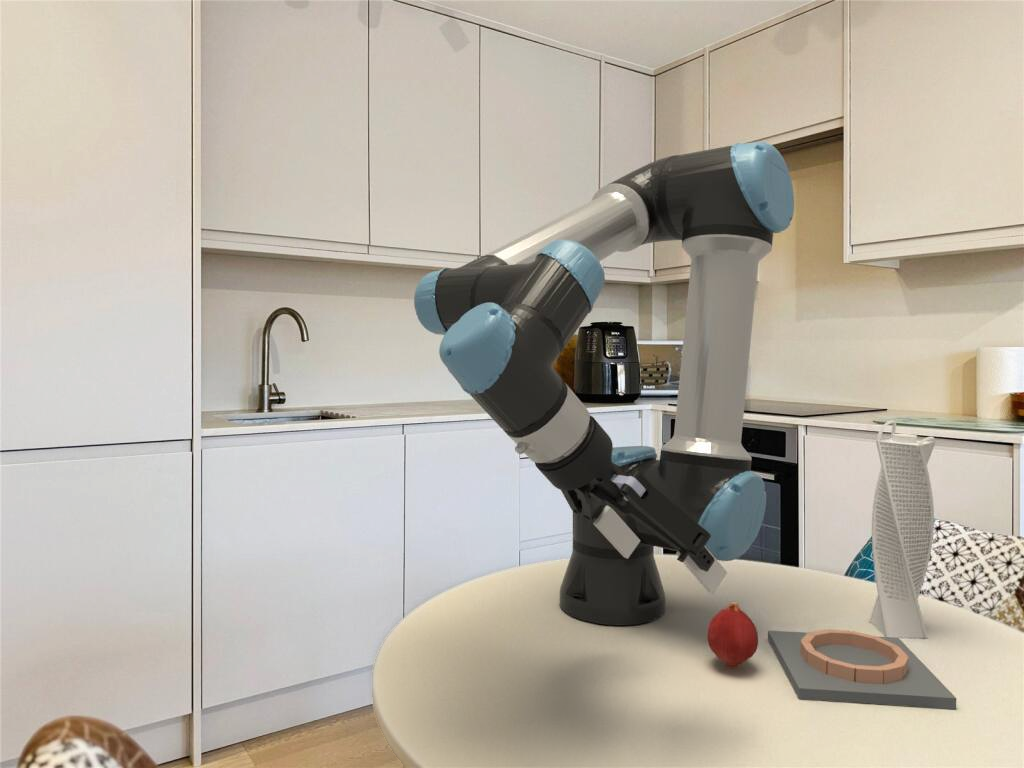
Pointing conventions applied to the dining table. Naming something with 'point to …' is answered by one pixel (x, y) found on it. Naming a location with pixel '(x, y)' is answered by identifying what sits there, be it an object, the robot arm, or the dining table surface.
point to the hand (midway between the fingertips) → (672, 564)
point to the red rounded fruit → (732, 636)
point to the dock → (857, 669)
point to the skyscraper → (901, 533)
